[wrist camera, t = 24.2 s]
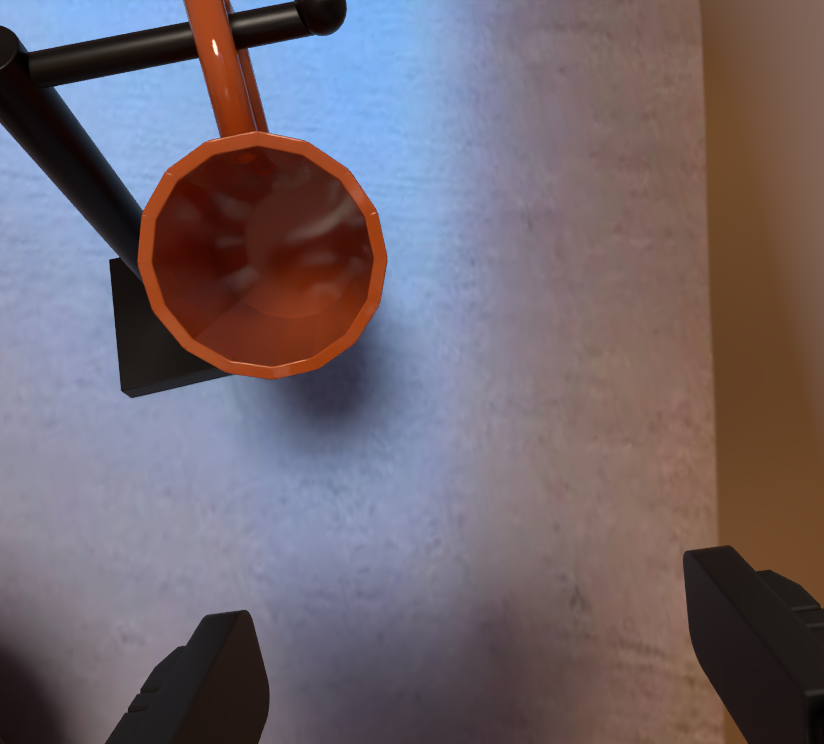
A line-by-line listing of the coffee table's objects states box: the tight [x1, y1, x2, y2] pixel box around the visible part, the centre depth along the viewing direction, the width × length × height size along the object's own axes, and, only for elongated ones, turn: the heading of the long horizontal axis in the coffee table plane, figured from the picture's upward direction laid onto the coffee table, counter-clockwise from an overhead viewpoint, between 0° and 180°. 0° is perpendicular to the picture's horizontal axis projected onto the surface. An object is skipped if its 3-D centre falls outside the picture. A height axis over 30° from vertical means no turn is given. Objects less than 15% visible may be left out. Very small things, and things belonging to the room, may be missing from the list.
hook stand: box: [0, 0, 347, 398], centre depth 26 cm, size 15×8×18 cm, turn 104°
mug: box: [137, 0, 387, 380], centre depth 22 cm, size 12×7×10 cm
